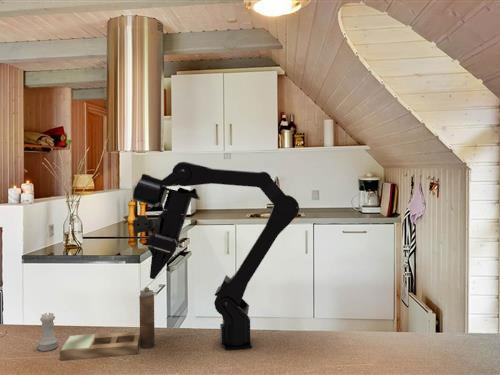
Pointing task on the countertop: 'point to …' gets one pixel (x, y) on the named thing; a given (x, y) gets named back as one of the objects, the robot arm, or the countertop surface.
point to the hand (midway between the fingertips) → (153, 275)
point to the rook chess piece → (47, 333)
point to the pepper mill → (146, 318)
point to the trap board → (100, 345)
